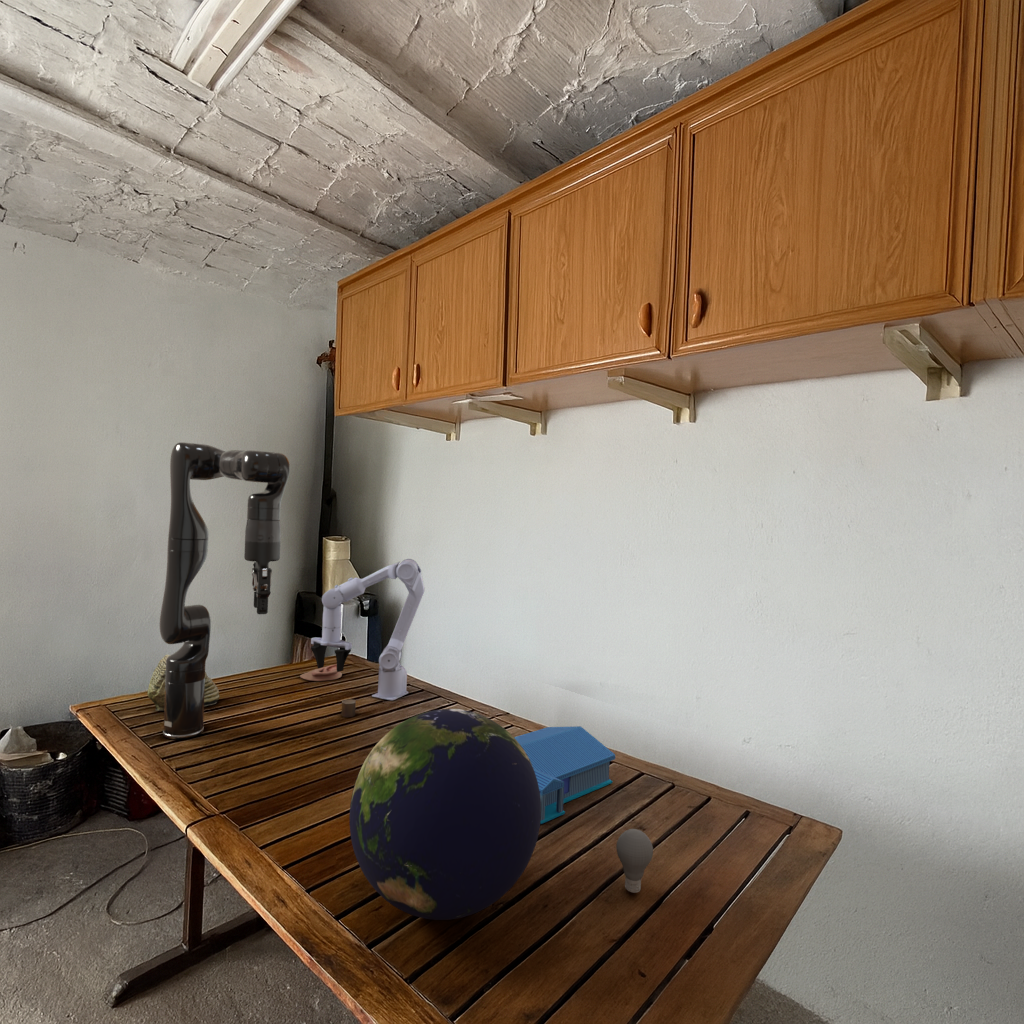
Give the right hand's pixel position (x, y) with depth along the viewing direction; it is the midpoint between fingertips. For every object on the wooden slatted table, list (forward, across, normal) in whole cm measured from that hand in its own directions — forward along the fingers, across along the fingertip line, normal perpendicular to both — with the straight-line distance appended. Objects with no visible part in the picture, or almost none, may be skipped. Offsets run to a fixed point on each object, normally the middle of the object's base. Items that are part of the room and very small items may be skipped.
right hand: (330, 669), depth 201 cm
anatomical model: (+8, -15, +14) cm, 22 cm away
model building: (+8, +80, -33) cm, 87 cm away
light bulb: (+8, +110, -57) cm, 124 cm away
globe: (+8, +83, -74) cm, 112 cm away
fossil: (+8, -28, -30) cm, 42 cm away
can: (+8, +17, -12) cm, 22 cm away
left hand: (-29, +22, -53) cm, 64 cm away
